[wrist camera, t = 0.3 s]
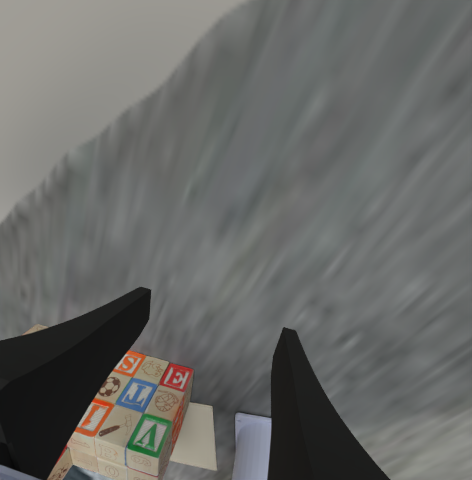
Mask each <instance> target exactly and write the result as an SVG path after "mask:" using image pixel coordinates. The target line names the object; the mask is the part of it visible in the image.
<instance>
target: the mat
mask: <svg viewBox="0 0 472 480" xmlns="http://www.w3.org/2000/svg"><path fill="white" fill-rule="evenodd" d="M169 461H173V462H178V463H182V464H187V465H192V466H196V467H201V468H205V469H210V470H215V471H217V461H216V447H215V433H214V420H213V406H209V405H203V404H198V403H192V402H190V403H189V406H188V409H187V412H186V415H185V418H184V421H183V424H182V427H181V430H180V433H179V436H178V439H177V441H176V444H175V447H174V450H173V452H172V455H171V456H170V460H169Z"/></svg>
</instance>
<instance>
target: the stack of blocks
mask: <svg viewBox="0 0 472 480" xmlns="http://www.w3.org/2000/svg"><path fill="white" fill-rule="evenodd" d="M46 328H49V327H45V326H42V325H38V324H36V325H35V326H33V327H32V328H31V329H29V330H28V331H27V332H25V333H24V334H23V335H25V334H29V333H33V332H36V331H39V330H42V329H46ZM21 336H22V335H21ZM193 375H194V370H193V369H190V368H187V367H183V366H179V365H176V364H172V363H169V362H167V361H164V360H161V359H157V358H154V357H150V356H146V355H143V354H140V353H136V352H133V351H130V350H128V352H127V353H126V354H125V355H124V357H123V358H122V359H121V361H120V362H119V363H118V364H117V366H116V367H115V368H114V370H113V371H112V372H111V374H110V375H109V376H108V378H107V379H106V381H105V382H104V384H103V385H102V387H101V388H100V390H99V392H98V393H97V395H96V396H95V398H94V399H93V401H92V403H91V404H90V406H89V408H88V409H87V411H86V412H85V414H84V416H83V417H82V419H81V421H80V422H79V424H78V426H77V427H76V429H75V431H74V433H73V434H72V436H71V438H70V440H69V441H68V443H67V445H66V446H65V448H64V450H63V452H62V454H61V455H60V457H59V459H58V461H57V463H56V464H55V466H54V468H53V470H52V472H51V473H50V475H49V477H48V479H47V480H62V479H63V478H64V476H65V475H66V473H67V472H68V470H69V469H70V468H71V466H72V465H76V466H78V467H81V468H84V469H87V470H90V471H93V472H97V473H99V474H101V475H104V476H106V477H109V478H112V479H115V480H162V479H163V476H164V474H165V471H166V468H167V465H168V463H169V460H170V456H171V455H172V452H173V450H174V447H175V444H176V441H177V439H178V436H179V433H180V430H181V427H182V424H183V421H184V418H185V415H186V412H187V409H188V406H189V403H190V398H191V390H192V383H193Z"/></svg>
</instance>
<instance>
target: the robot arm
mask: <svg viewBox="0 0 472 480" xmlns="http://www.w3.org/2000/svg"><path fill="white" fill-rule="evenodd" d="M150 299H151V290H150V289H147V288H143V287H139V288H137V289H135V290H133V291H131V292H129V293H127V294H125V295H124V296H122V297H120V298H118V299H116V300H114V301H112V302H110V303H108V304H106V305H104V306H102V307H99V308H97V309H95V310H93V311H91V312H89V313H86V314H84V315H82V316H79V317H77V318H74V319H72V320H69V321H66V322H64V323H61V324H58V325H55V326H52V327H49V328H46V329H42V330H39V331H36V332H33V333H29V334H25V335H22V336H18V337H14V338H10V339H5V340H1V341H0V480H47V479H48V477H49V475H50V473H51V472H52V470H53V468H54V466H55V464H56V463H57V461H58V459H59V457H60V455H61V454H62V452H63V450H64V448H65V446H66V445H67V443H68V441H69V440H70V438H71V436H72V434H73V433H74V431H75V429H76V427H77V426H78V424H79V422H80V421H81V419H82V417H83V416H84V414H85V412H86V411H87V409H88V408H89V406H90V404H91V403H92V401H93V399H94V398H95V396H96V395H97V393H98V392H99V390H100V388H101V387H102V385H103V384H104V382H105V381H106V379H107V378H108V376H109V375H110V374H111V372H112V371H113V370H114V368H115V367H116V366H117V364H118V363H119V362H120V361H121V359H122V358H123V357H124V355H125V354H126V353H127V352H128V350H129V349H130V348H131V346H132V345H133V344H134V342H135V341H136V340H137V338H138V337H139V336H140V334H141V332H142V331H143V329H144V327H145V326H146V324H147V322H148V320H149V314H150ZM235 439H236V455H235V462H234V468H233V475H232V480H390V479H389V478H388V477H387V476H386V474H385V473H384V472H383V471H382V470H381V469H380V468H379V467H378V466H377V464H376V463H375V462H374V461H373V460H372V458H371V457H370V456H369V455H368V453H367V452H366V451H365V450H364V449H363V447H362V446H361V445H360V444H359V442H358V441H357V440H356V438H355V437H354V436H353V434H352V433H351V432H350V430H349V429H348V427H347V426H346V425H345V423H344V422H343V421H342V419H341V418H340V416H339V415H338V413H337V412H336V410H335V409H334V407H333V405H332V404H331V402H330V401H329V399H328V397H327V396H326V394H325V392H324V390H323V389H322V387H321V385H320V383H319V381H318V379H317V377H316V376H315V374H314V372H313V369H312V367H311V365H310V363H309V361H308V359H307V357H306V354H305V352H304V350H303V347H302V345H301V343H300V340H299V337H298V335H297V332H296V331H295V330H292V329H288V328H285V327H283V330H282V333H281V335H280V338H279V341H278V344H277V347H276V349H275V352H274V355H273V362H272V371H271V418H267V417H262V416H256V415H250V414H244V413H236V415H235Z"/></svg>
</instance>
